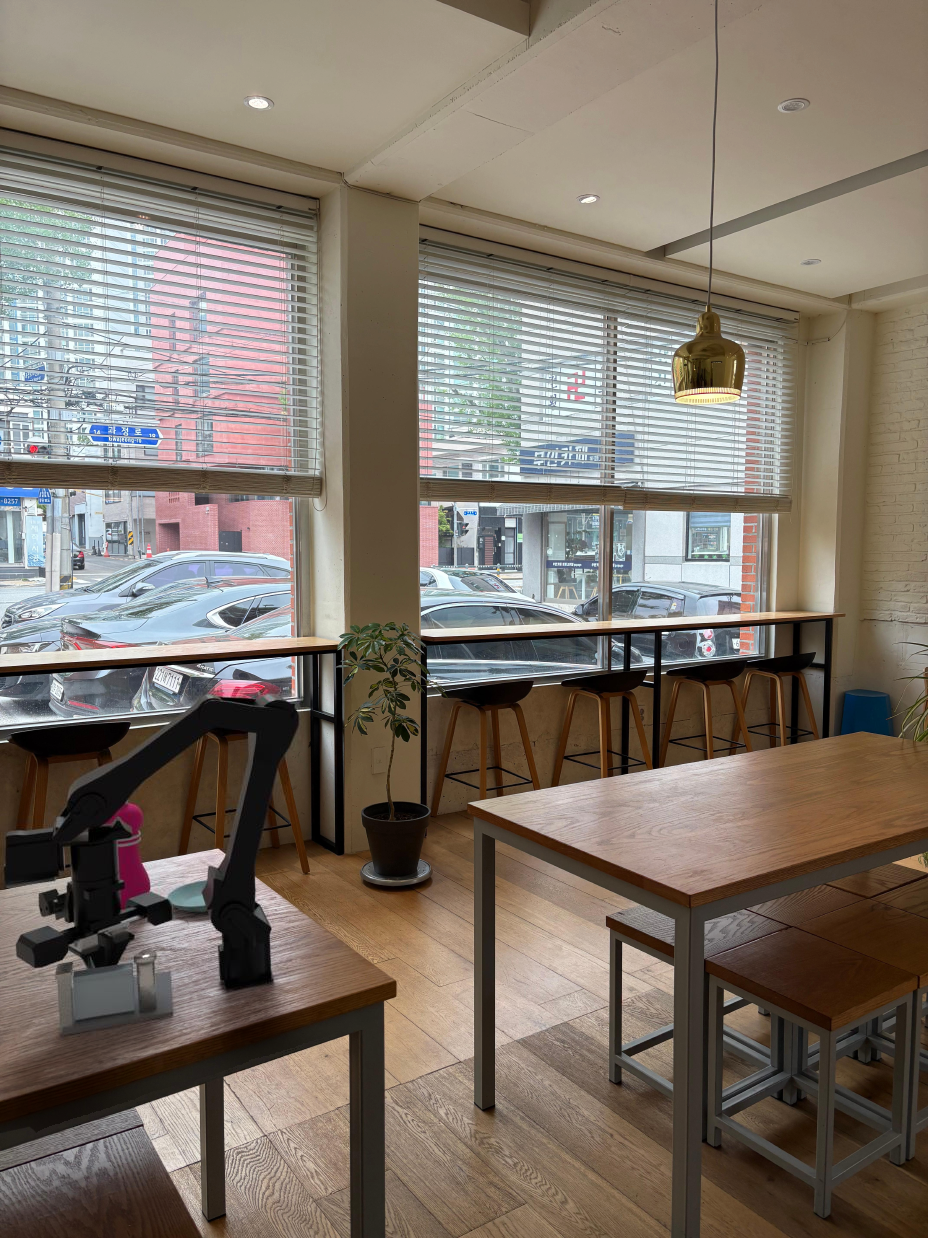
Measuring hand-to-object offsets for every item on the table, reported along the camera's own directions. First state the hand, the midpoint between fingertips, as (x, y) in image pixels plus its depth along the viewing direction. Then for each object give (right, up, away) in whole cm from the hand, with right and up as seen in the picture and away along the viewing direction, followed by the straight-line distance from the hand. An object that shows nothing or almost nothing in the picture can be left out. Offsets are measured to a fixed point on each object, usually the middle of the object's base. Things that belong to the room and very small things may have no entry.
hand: (101, 991), depth 117 cm
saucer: (+4, 0, +34) cm, 34 cm away
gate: (+2, -1, -3) cm, 4 cm away
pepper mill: (-8, 0, +30) cm, 31 cm away
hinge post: (+7, -2, -2) cm, 7 cm away
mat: (+2, -2, +1) cm, 3 cm away
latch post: (-2, -3, -5) cm, 6 cm away
